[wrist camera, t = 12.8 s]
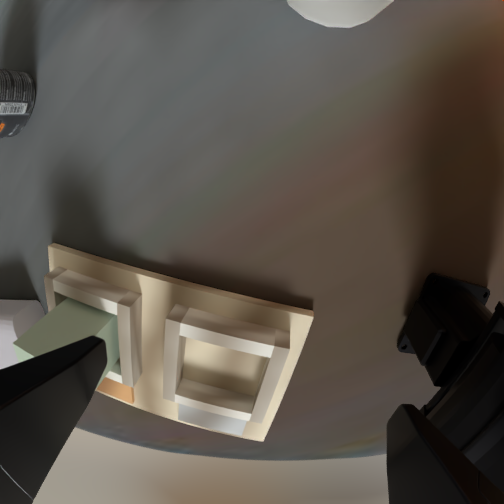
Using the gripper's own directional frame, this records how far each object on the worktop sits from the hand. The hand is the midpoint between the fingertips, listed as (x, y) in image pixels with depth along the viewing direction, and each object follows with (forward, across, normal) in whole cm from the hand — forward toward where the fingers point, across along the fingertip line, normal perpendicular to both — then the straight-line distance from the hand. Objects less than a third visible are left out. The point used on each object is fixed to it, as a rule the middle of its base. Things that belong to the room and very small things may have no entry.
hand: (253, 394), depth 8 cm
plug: (+11, +12, +9) cm, 19 cm away
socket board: (+12, +7, +11) cm, 18 cm away
